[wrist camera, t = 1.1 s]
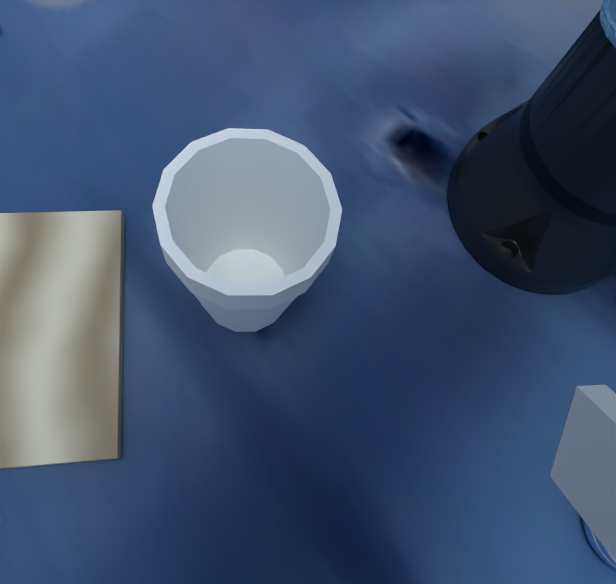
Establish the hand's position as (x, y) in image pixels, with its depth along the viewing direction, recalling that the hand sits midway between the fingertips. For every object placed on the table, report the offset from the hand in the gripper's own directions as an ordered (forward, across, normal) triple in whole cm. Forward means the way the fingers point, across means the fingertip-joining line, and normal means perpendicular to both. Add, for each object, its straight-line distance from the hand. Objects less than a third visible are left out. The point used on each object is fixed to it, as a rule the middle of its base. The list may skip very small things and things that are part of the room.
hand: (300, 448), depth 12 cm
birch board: (+26, -15, -11) cm, 32 cm away
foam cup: (+27, 0, -8) cm, 28 cm away
